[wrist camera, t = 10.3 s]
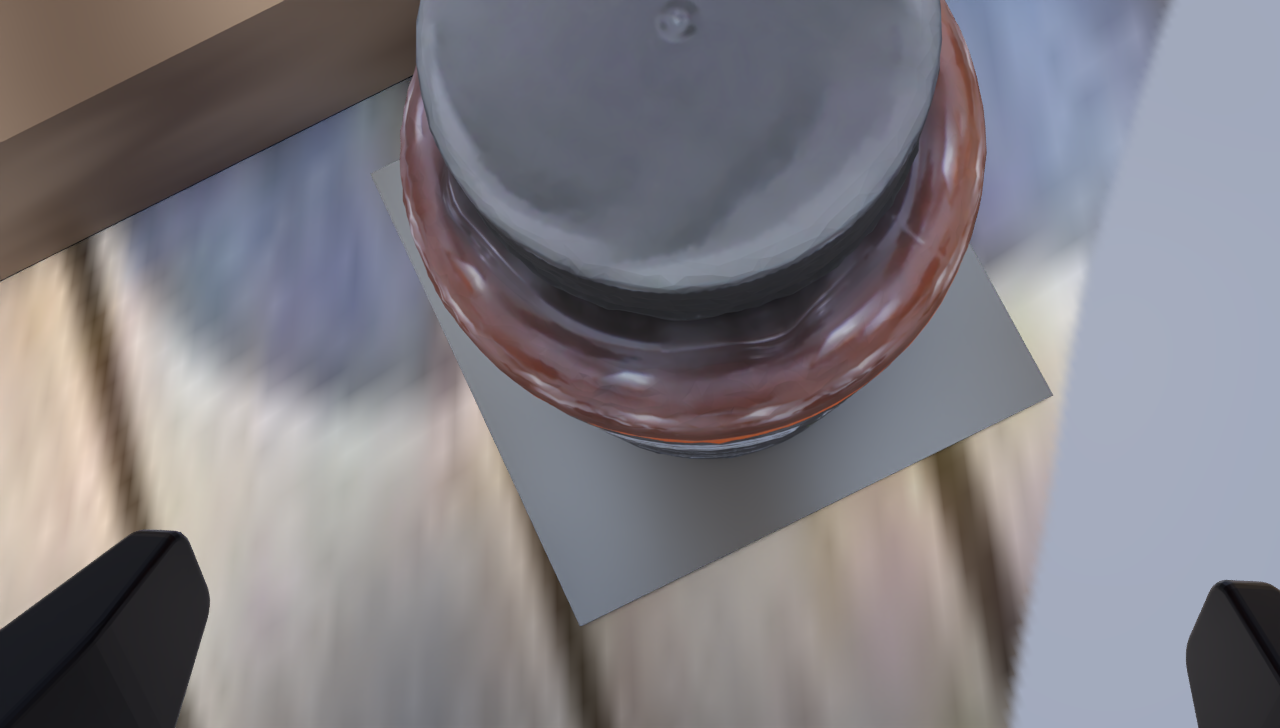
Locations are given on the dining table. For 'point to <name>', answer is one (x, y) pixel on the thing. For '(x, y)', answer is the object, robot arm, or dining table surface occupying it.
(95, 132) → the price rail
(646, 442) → the supplement bottle
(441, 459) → the dining table surface
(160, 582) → the robot arm
